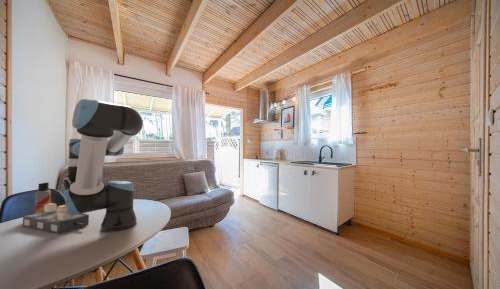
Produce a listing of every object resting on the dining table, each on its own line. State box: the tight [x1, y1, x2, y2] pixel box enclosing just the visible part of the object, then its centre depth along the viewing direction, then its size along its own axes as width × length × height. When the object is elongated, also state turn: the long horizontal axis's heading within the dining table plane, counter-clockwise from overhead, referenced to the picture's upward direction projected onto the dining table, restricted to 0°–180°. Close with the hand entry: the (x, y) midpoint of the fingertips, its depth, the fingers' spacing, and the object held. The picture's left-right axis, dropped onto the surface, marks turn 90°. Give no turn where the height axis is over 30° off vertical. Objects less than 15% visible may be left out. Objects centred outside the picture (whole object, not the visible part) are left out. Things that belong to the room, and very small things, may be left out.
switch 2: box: [56, 204, 66, 214], centre depth 95 cm, size 4×3×4 cm
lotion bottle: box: [34, 182, 52, 214], centre depth 102 cm, size 6×6×20 cm
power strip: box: [22, 208, 90, 235], centre depth 91 cm, size 33×12×6 cm, turn 75°
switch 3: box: [44, 202, 58, 212], centre depth 97 cm, size 4×3×4 cm
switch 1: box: [57, 210, 71, 221], centre depth 87 cm, size 4×3×4 cm
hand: (76, 207), depth 100 cm, fingers closed
